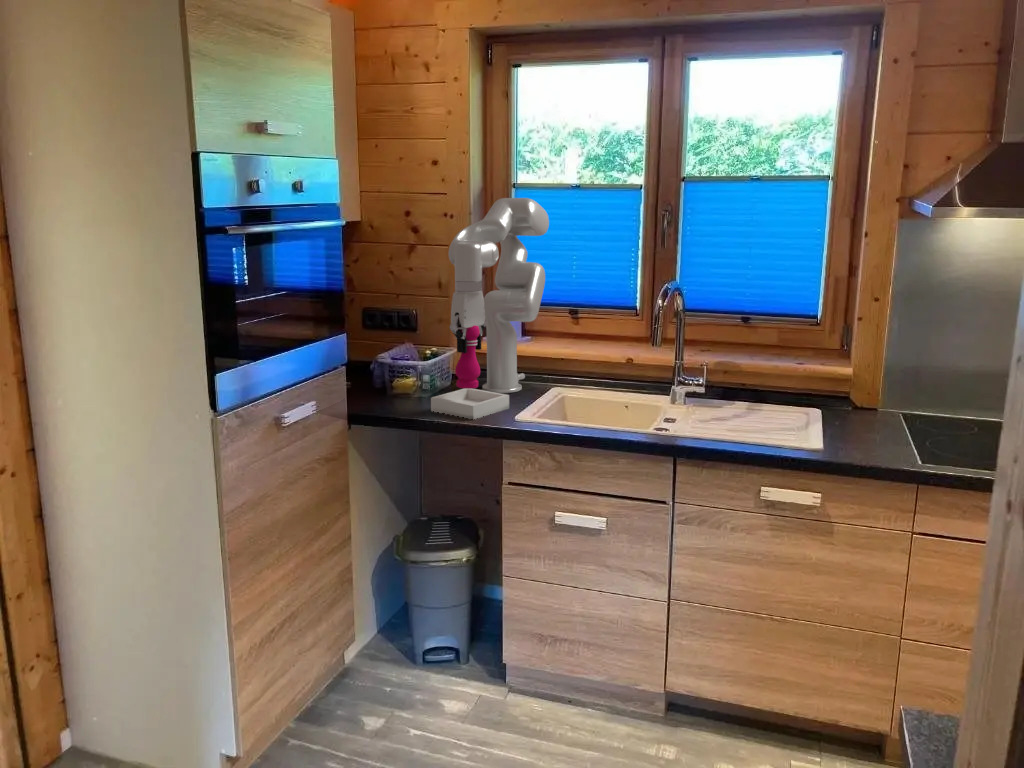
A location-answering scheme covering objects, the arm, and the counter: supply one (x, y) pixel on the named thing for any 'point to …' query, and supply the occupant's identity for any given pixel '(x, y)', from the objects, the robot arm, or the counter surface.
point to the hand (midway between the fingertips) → (469, 350)
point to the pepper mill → (468, 361)
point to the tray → (470, 403)
